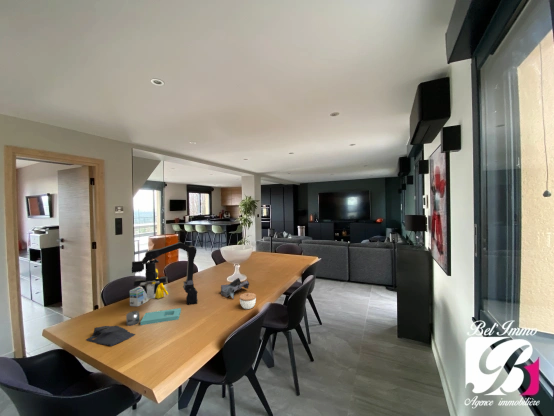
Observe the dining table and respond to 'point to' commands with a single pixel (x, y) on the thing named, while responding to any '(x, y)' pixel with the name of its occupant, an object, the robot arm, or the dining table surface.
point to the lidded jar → (248, 300)
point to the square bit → (150, 291)
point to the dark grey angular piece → (233, 287)
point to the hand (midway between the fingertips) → (151, 294)
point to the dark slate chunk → (110, 335)
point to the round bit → (132, 318)
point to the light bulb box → (138, 296)
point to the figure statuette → (160, 289)
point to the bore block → (161, 316)
